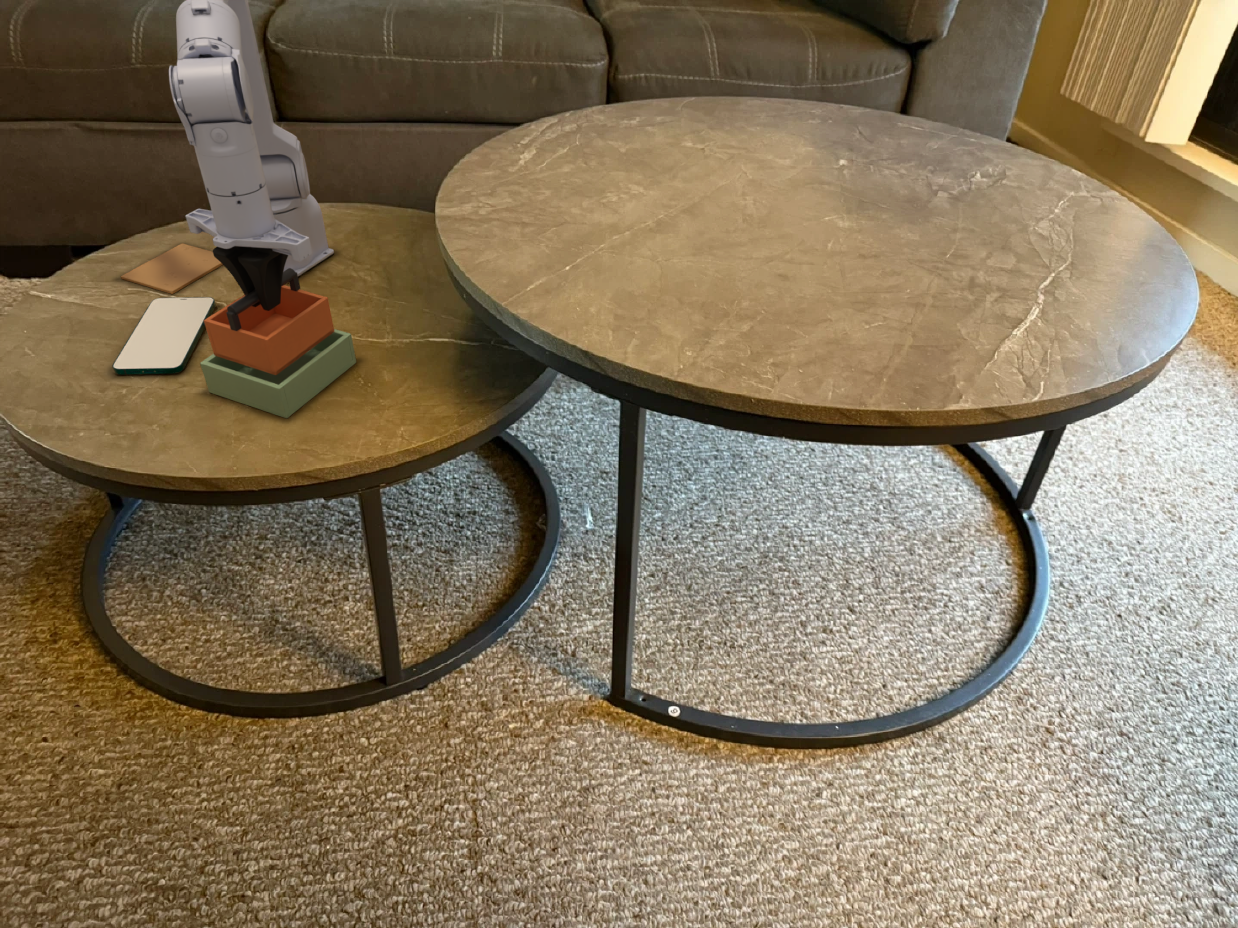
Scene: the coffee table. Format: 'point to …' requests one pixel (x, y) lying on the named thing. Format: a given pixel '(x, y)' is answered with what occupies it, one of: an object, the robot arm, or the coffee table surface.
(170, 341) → the smartphone
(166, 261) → the cork pad
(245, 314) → the terracotta tote
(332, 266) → the coffee table surface
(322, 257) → the robot arm
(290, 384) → the green tray
